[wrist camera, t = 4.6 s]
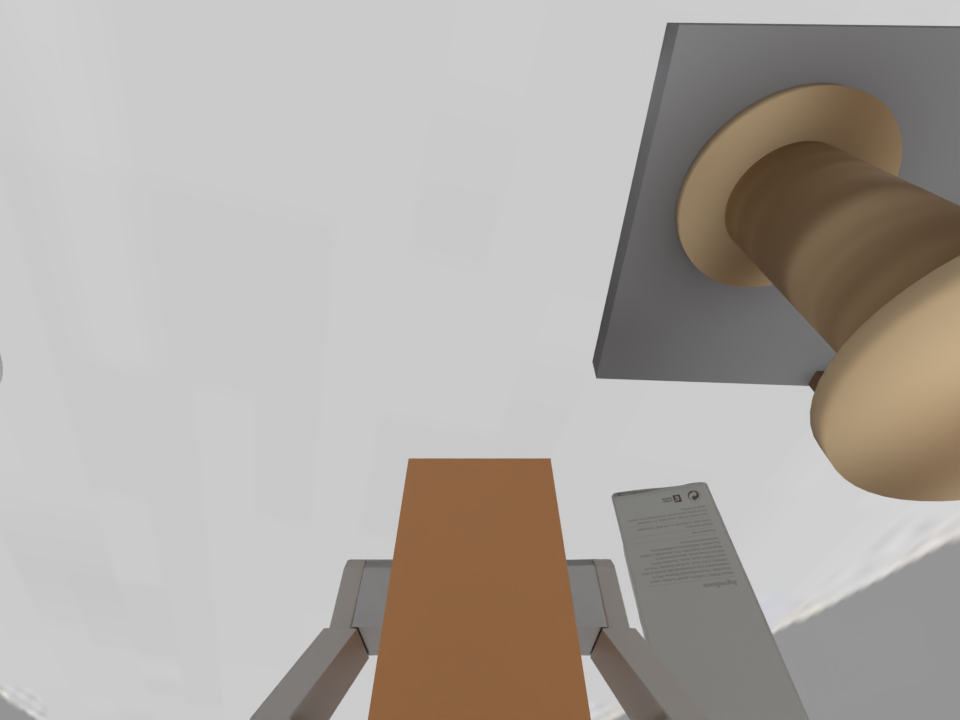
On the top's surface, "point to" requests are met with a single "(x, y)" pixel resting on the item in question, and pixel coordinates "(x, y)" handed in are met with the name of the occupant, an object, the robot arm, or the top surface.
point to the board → (680, 137)
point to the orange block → (479, 598)
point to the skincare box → (702, 605)
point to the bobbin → (844, 274)
